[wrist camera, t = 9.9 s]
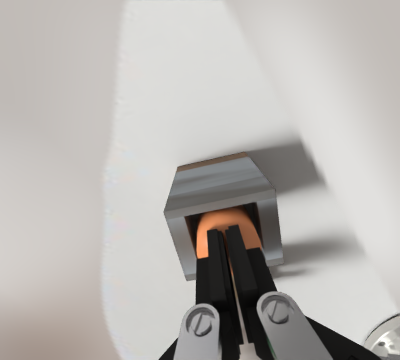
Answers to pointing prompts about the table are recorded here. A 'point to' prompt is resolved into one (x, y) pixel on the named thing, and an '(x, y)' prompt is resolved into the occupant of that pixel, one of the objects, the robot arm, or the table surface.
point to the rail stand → (221, 204)
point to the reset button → (221, 222)
